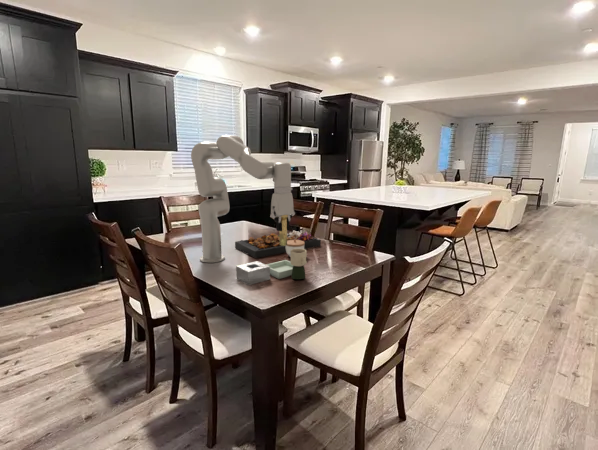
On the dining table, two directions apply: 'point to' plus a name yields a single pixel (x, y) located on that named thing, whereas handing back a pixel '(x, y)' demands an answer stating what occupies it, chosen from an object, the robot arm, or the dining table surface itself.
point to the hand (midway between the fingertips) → (282, 229)
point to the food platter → (273, 244)
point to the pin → (283, 231)
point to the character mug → (298, 263)
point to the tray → (281, 269)
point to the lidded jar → (294, 245)
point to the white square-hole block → (253, 272)
